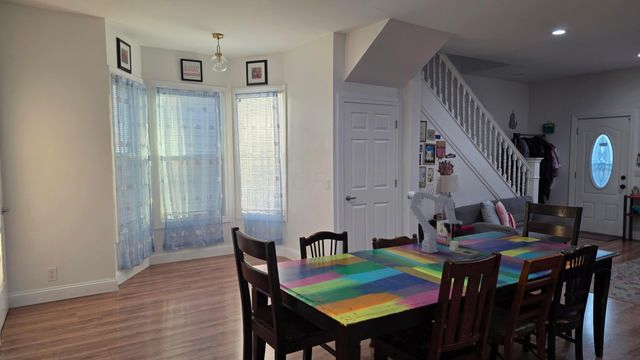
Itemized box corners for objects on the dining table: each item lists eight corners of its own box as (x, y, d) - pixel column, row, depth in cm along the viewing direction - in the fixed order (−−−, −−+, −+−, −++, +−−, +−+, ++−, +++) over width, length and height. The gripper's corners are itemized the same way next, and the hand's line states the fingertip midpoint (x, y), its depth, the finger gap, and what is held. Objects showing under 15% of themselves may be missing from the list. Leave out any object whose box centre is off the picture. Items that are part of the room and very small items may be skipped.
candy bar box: (451, 244, 299) (452, 222, 297) (446, 245, 297) (447, 223, 295) (441, 241, 309) (441, 220, 307) (436, 242, 307) (436, 220, 305)
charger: (454, 251, 281) (454, 242, 280) (449, 250, 284) (449, 241, 283) (458, 250, 283) (458, 241, 282) (453, 249, 286) (453, 240, 286)
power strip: (469, 258, 262) (469, 254, 261) (450, 254, 273) (450, 250, 272) (480, 255, 269) (480, 251, 269) (461, 251, 280) (461, 247, 280)
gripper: (463, 213, 279) (467, 232, 281) (445, 212, 290) (449, 230, 292) (457, 216, 275) (461, 235, 276) (439, 216, 286) (443, 234, 288)
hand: (454, 233), depth 284 cm, fingers open, 7 cm apart
